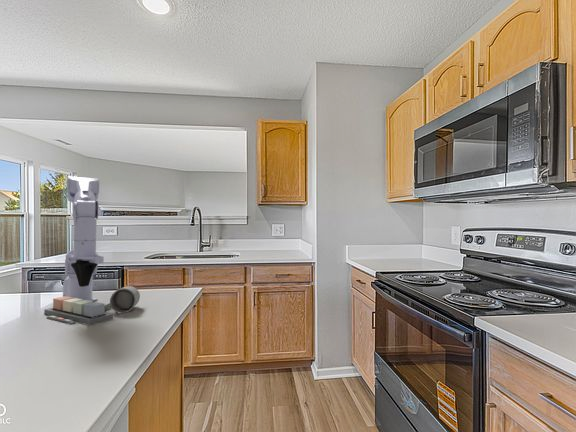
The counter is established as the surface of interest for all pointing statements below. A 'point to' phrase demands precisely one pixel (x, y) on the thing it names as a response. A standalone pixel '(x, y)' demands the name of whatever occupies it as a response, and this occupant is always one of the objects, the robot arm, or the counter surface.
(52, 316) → the strip
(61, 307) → the terracotta key
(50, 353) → the counter surface
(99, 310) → the slate key
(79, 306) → the sage key
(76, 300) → the sand key
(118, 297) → the ceramic mug
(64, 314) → the keypad base
